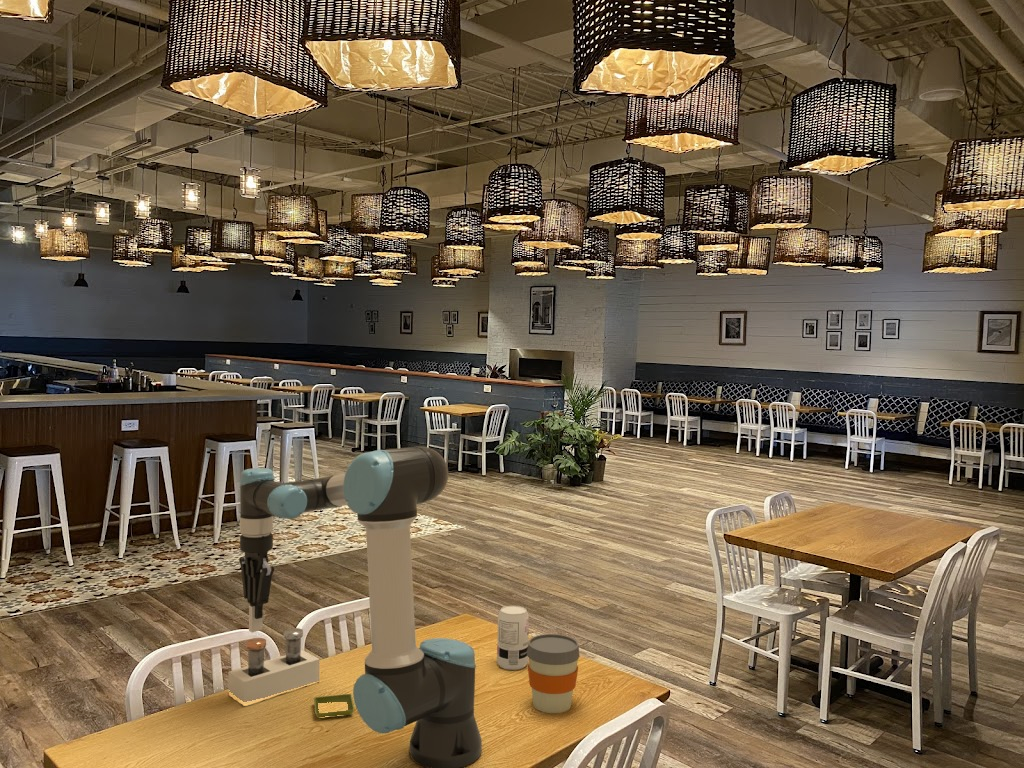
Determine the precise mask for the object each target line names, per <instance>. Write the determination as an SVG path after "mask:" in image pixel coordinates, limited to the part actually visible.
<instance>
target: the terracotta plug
mask: <svg viewBox="0 0 1024 768" xmlns="http://www.w3.org/2000/svg"><path fill="white" fill-rule="evenodd" d="M266 647H267V640H266V638H263V637H254V638H249V639H247V640H246V642H245V649H246V650H248V651H247V656H248V658H247V666H248V675H249V676H251V677H253V676H256V675H259V674H263V673H264V661H265V648H266Z"/></svg>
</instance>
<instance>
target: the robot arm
mask: <svg viewBox="0 0 1024 768" xmlns="http://www.w3.org/2000/svg"><path fill="white" fill-rule="evenodd" d="M274 474H275V473H274V471H273V470H272V469H270V468H265V467H264V468H263V467H256V468H255V467H254V468H253V467H252V468H247V469H244V470H243V471H241V475H240V476H241V477H240V484H239V491H240V492H239V497H240V498H239V499H240V500H239V505H240V506H239V507H240V508H239V509H240V511H239V513H240V516H239V533H240V534H241V535H240V536H239V549H240V551H241V552H243V553H244V556H242V557H239V560H238V561H239V566H240V569H241V570H240V571H241V583H242V590H243V599H245V600H246V599H247V603H248V604H249V606H248V631H249V632H250V633H255V632H260V631H263V619H264V618H263V613H264V612H263V610H264V608H263V607H264V605H266V604H269V598H270V592H271V585H272V579H273V575H274V572H275V567H274V566H270V565H269V556H268V554H269V552H270V551H271V550H273V548H274V535H273V533H272V532H273V531H274V524H273V523H274V520H275V518H274V516H275V517H276V518H280V519H287V520H294V519H297V518H298V517H300V516H301V515H303V513H308V512H309V513H310V512H314V511H320V510H326V509H327V510H329V509H335V508H340V507H345V506H348V508H349V509H350V510H351V511H352V512H353V513H355V514H357V521H358V523H359V524H360V525H362V526H363V527H364V529H365V534H366V535H365V536H366V537H365V538H366V555H367V556H366V559H367V573H368V575H367V577H368V597H369V615H370V616H369V618H370V635H371V636H370V637H371V639H370V640H371V650H370V651H369V653H368V654H367V655H366V656H365V657H364V674H362V675H359V677H357V679H356V681H355V682H354V684H353V690H352V694H353V696H352V698H353V701H354V702H353V703H354V705H355V706H354V707H355V708H356V711H357V713H358V715H359V717H360V718H361V719H362V721H363V722H364V724H365V725H366V726H367V727H368V728H369V729H370V730H372V731H373V732H375V733H378V734H389V733H391V732H394V731H399V730H402V729H403V728H404V727H407V726H408V725H410V724H413V723H415V725H414V727H413V730H412V734H411V737H410V738H409V739H410V741H409V755H410V758H411V759H412V761H414V762H415V763H416V764H418V765H420V766H422V767H424V768H464V767H467V766H469V765H471V764H473V763H474V762H475V761H477V760H478V759H479V758H480V757H481V754H482V748H483V745H482V744H483V743H482V741H483V740H482V735H481V733H480V730H479V727H478V723H477V720H476V717H475V689H476V688H475V685H476V657H475V655H476V654H475V650H474V648H473V647H472V646H471V645H469V644H468V643H466V642H465V641H460V640H457V639H452V638H446V637H445V638H442V637H441V638H440V637H438V638H428V639H425V640H423V641H421V642H420V645H419V646H417V643H416V625H415V624H416V622H415V605H414V604H415V603H414V602H415V600H414V584H413V583H414V582H413V580H414V578H413V565H412V564H413V562H412V544H411V543H412V542H411V541H412V540H411V525H412V523H413V522H414V521H415V520H416V519H417V518H418V506H417V505H418V504H423V503H427V502H430V501H433V500H434V499H435V498H437V497H438V496H439V495H441V494H442V493H443V491H444V490H445V488H446V486H447V485H448V480H449V468H448V465H447V463H446V460H445V459H444V457H443V456H442V454H440V453H439V452H438V451H436V450H434V449H432V448H430V447H427V446H418V445H417V446H416V445H415V446H411V447H399V448H391V449H390V448H389V449H388V448H387V449H378V450H377V449H376V450H373V451H368V452H364V453H361V454H359V455H357V456H356V457H354V458H353V459H352V461H351V463H350V464H349V465H348V466H347V469H346V471H345V472H343V473H340V474H335V475H329V476H324V477H318V478H311V479H303V480H296V481H294V480H293V481H287V482H279V481H275V475H274Z"/></svg>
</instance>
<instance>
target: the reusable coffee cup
mask: <svg viewBox="0 0 1024 768" xmlns="http://www.w3.org/2000/svg"><path fill="white" fill-rule="evenodd" d="M579 645H580V643H579V642H578V640H576V639H575V638H573V637H570V636H568V635H564V634H557V633H545V634H538V635H534V636H533V637H531V638H530V639H528V649H527V656H528V663H527V672H528V681H529V686H530V687H531V694H532V705H533V707H534V708H535V709H536V710H538V711H539V712H541V713H546V714H562V713H564V712H567V711H569V710H570V709H571V705H572V700H573V699H572V698H573V693H574V689H576V688H575V687H576V685H577V679H578V671H579V665H578V661H579V658H580V646H579Z"/></svg>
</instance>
